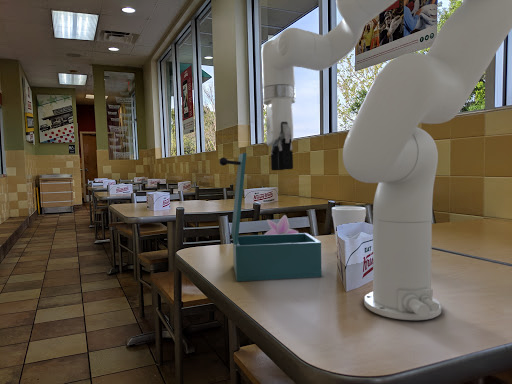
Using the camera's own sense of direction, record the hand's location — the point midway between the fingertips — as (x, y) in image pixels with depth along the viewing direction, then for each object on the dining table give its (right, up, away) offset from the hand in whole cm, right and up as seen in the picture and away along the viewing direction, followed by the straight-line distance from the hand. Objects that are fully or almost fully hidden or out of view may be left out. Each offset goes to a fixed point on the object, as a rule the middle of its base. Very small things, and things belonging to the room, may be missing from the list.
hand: (281, 169), depth 89 cm
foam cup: (+21, -23, +20) cm, 37 cm away
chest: (-1, -24, +2) cm, 25 cm away
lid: (-10, -6, 0) cm, 12 cm away
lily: (+2, -23, +27) cm, 35 cm away
